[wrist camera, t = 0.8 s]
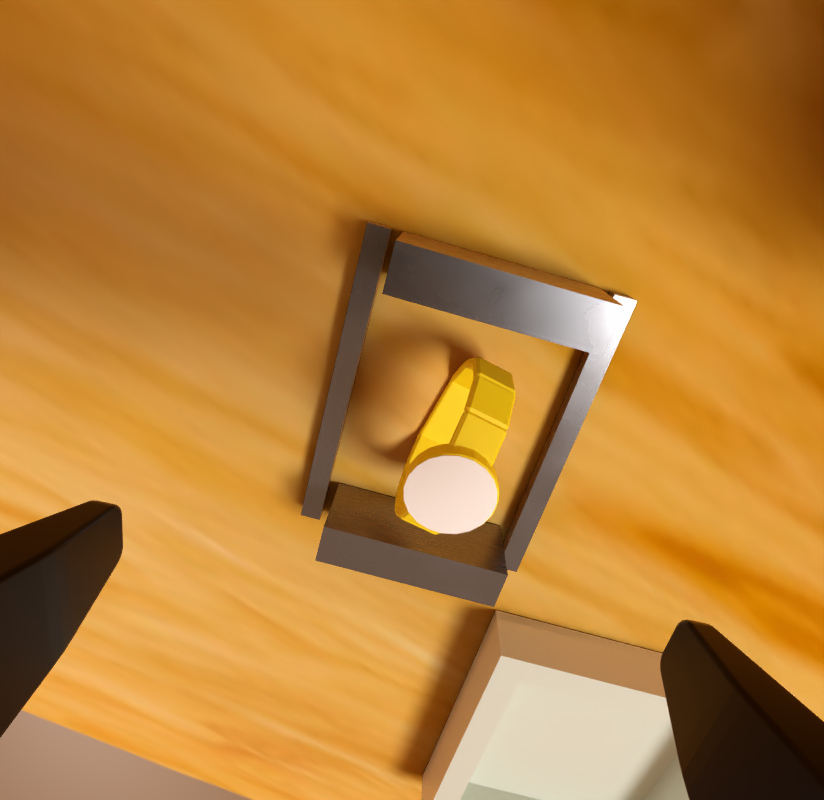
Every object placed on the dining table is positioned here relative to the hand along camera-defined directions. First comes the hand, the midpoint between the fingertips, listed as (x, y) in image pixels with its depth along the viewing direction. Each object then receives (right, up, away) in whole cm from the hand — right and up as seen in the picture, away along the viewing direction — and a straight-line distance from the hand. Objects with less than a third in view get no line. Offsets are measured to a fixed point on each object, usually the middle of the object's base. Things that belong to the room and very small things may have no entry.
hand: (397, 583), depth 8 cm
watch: (+2, +3, +12) cm, 13 cm away
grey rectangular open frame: (+2, +2, +12) cm, 12 cm away
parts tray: (+8, -14, +18) cm, 24 cm away
